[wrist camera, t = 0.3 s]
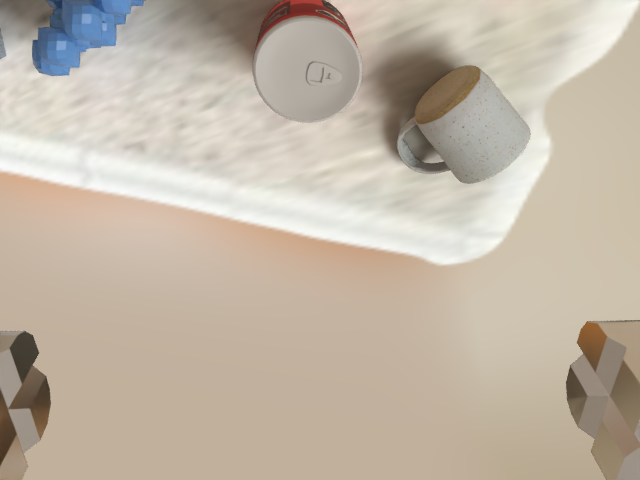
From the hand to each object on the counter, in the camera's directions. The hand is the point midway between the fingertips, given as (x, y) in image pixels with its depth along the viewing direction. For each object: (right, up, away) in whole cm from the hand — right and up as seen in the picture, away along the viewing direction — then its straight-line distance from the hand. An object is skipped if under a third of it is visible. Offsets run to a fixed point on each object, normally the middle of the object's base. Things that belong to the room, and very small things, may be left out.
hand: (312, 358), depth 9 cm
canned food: (-1, +19, +43) cm, 48 cm away
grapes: (-18, +22, +41) cm, 50 cm away
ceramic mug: (+12, +13, +48) cm, 51 cm away
